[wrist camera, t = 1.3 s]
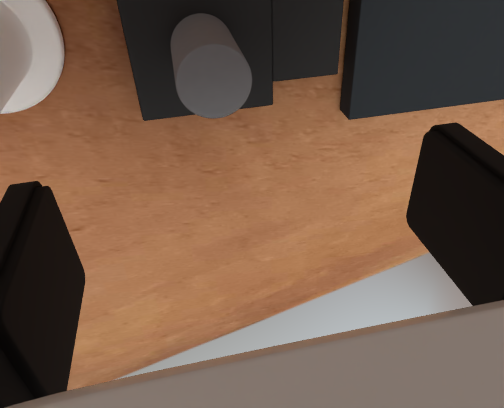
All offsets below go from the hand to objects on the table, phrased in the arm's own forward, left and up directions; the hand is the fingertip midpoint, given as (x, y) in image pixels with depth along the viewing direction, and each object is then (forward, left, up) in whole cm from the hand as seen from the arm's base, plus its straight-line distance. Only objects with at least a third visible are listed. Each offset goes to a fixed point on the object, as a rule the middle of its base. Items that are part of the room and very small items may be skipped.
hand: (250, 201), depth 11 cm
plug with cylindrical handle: (0, +2, -14) cm, 14 cm away
